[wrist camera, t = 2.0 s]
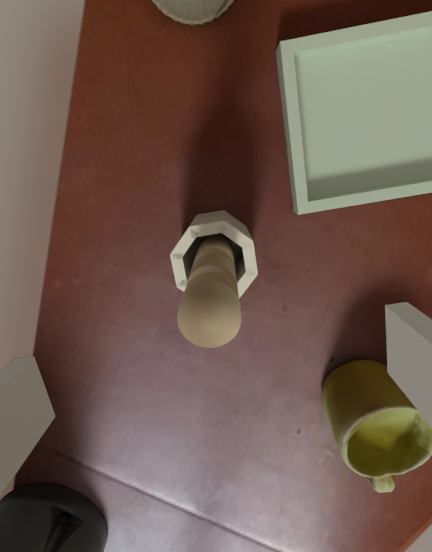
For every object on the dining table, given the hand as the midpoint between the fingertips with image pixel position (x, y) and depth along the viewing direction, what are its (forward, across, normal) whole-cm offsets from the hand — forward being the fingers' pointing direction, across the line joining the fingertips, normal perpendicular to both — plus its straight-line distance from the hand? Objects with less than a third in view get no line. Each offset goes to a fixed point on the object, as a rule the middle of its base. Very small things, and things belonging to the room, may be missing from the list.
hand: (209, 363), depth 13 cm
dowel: (+23, 0, 0) cm, 23 cm away
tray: (+24, +18, +9) cm, 31 cm away
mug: (+24, +13, -21) cm, 34 cm away
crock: (+23, 0, 0) cm, 23 cm away
